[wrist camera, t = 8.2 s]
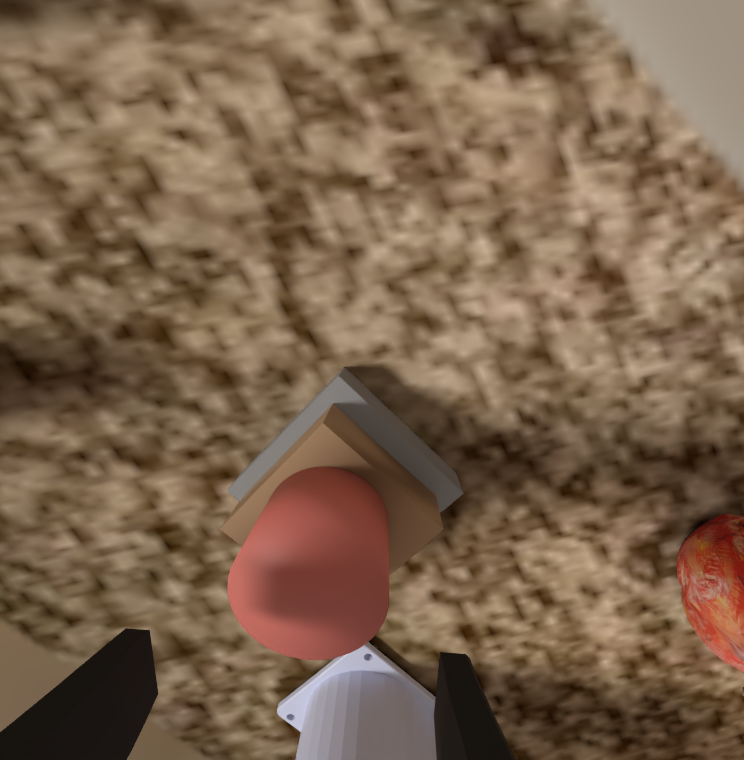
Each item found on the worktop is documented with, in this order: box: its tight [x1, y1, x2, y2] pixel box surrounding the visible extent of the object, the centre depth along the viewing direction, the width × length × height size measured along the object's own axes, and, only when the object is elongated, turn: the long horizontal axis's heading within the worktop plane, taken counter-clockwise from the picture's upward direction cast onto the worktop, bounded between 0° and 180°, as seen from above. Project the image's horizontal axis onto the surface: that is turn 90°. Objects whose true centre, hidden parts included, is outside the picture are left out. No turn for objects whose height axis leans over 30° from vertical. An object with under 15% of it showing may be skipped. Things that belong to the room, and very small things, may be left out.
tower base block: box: [227, 367, 464, 513], centre depth 18 cm, size 8×8×2 cm
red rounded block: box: [228, 467, 389, 660], centre depth 13 cm, size 5×5×4 cm
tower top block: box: [220, 404, 444, 576], centre depth 16 cm, size 6×6×2 cm
